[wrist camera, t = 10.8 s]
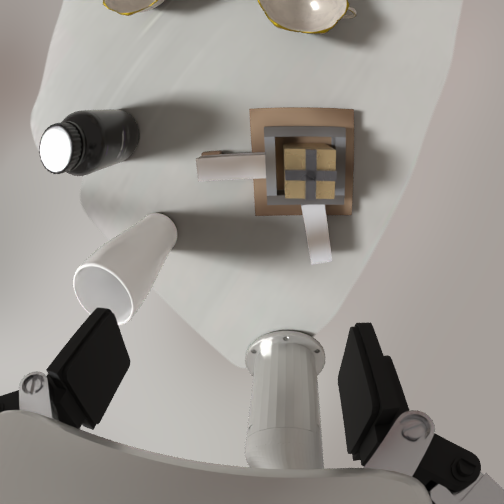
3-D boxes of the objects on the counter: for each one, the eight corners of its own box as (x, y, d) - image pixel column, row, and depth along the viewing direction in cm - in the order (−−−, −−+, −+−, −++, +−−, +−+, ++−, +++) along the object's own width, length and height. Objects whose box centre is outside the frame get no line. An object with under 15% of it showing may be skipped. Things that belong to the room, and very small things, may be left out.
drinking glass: (167, 197, 34) (104, 251, 21) (193, 243, 37) (149, 317, 23) (127, 219, 36) (60, 277, 23) (153, 261, 38) (101, 332, 25)
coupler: (323, 183, 31) (335, 200, 24) (283, 182, 31) (285, 200, 25) (324, 143, 29) (337, 150, 23) (283, 142, 29) (284, 149, 23)
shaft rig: (346, 250, 35) (352, 264, 32) (214, 251, 37) (208, 265, 34) (350, 109, 28) (359, 109, 25) (201, 113, 29) (191, 113, 26)
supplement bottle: (148, 149, 32) (92, 169, 21) (106, 170, 33) (46, 197, 22) (131, 99, 29) (69, 99, 18) (89, 123, 30) (24, 135, 20)
